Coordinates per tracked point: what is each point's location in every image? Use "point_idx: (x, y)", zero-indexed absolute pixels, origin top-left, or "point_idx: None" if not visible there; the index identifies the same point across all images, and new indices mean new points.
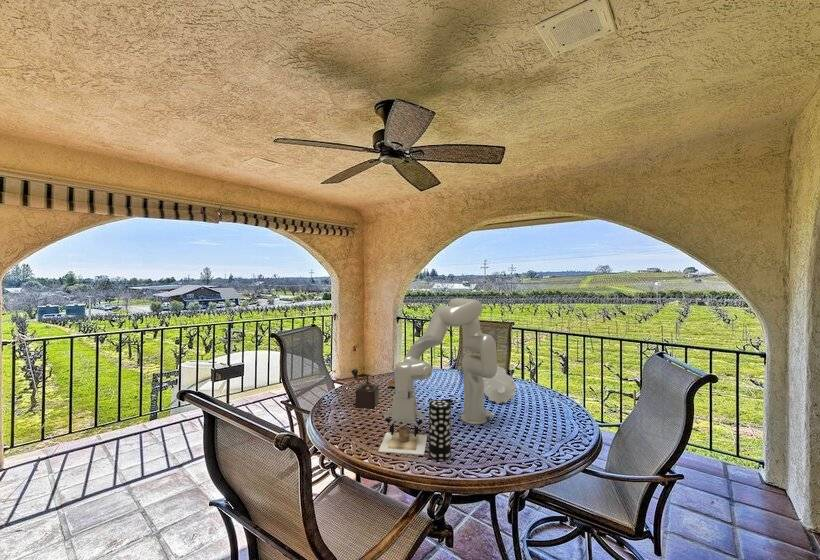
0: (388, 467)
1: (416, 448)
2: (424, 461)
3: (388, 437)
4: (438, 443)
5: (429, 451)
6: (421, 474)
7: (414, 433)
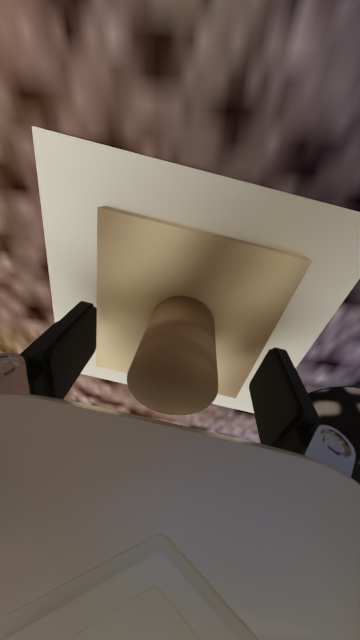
0: None
1: None
2: (249, 436)
3: (75, 235)
4: None
5: None
6: None
7: (253, 404)
